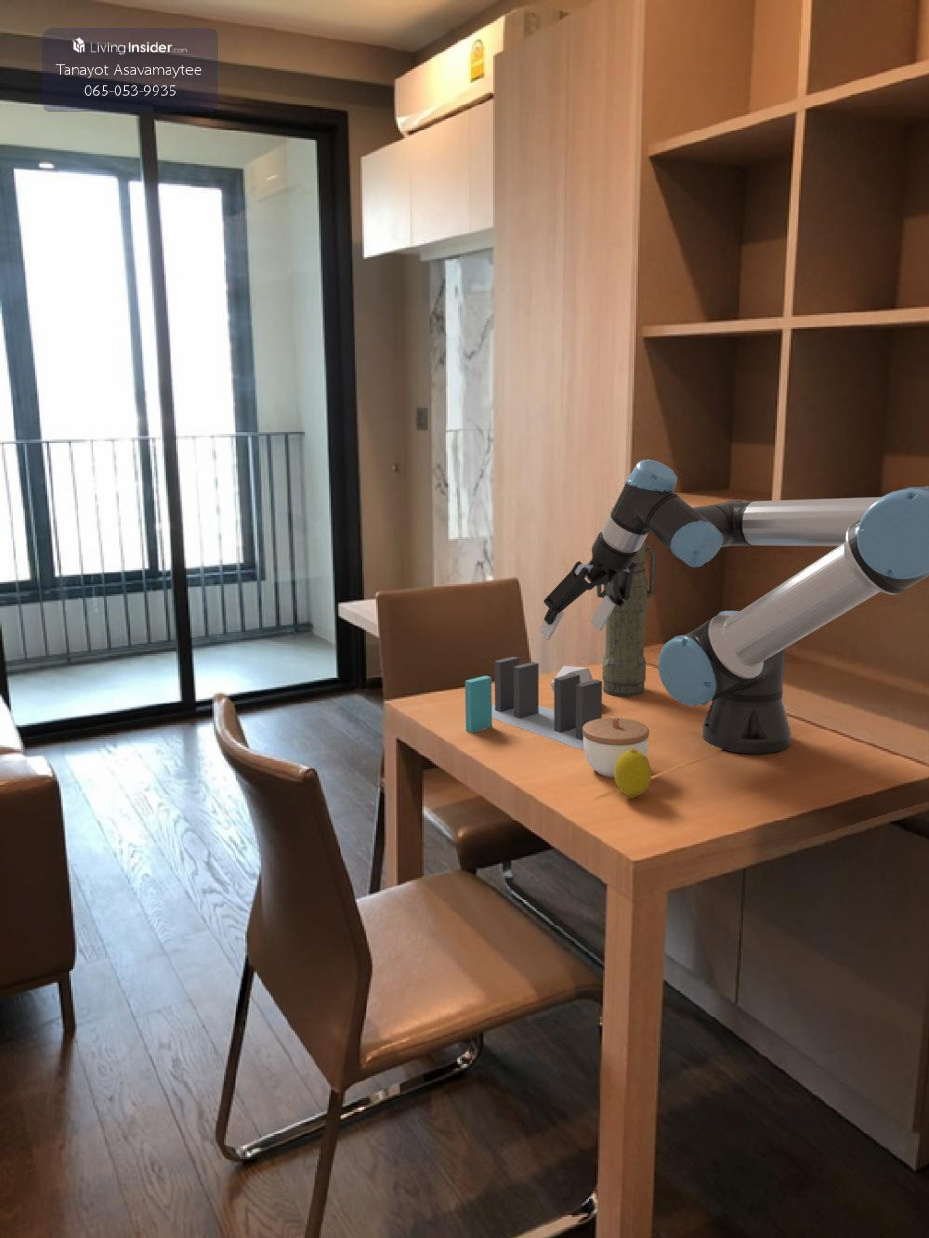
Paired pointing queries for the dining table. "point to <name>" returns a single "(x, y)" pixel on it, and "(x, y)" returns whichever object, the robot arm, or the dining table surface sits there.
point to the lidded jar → (612, 742)
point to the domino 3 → (565, 702)
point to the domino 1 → (505, 683)
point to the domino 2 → (526, 690)
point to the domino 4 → (588, 704)
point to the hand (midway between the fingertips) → (570, 630)
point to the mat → (539, 725)
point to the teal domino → (478, 703)
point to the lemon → (632, 773)
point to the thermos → (628, 633)
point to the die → (581, 671)
